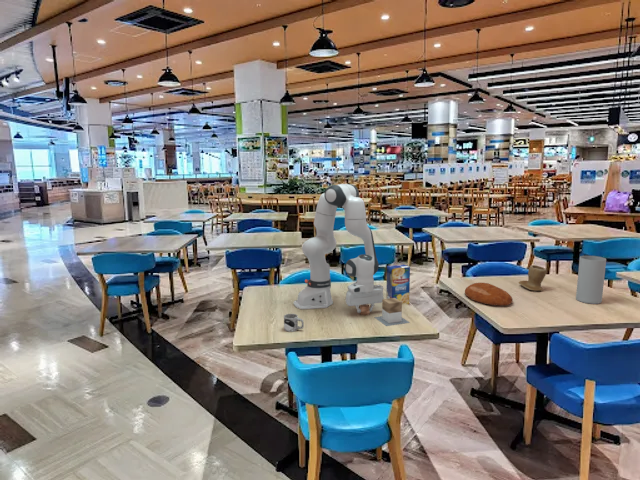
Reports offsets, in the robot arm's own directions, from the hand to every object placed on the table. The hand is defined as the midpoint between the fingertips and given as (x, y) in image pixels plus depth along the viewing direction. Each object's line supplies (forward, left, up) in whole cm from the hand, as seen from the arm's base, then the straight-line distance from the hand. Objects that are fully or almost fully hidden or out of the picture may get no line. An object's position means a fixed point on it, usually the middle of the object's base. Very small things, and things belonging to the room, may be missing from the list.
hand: (364, 311), depth 219 cm
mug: (-39, -4, -3) cm, 40 cm away
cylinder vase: (+130, -23, -3) cm, 132 cm away
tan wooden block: (+9, -13, +4) cm, 16 cm away
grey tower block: (+9, -13, -1) cm, 16 cm away
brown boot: (+120, +7, -3) cm, 120 cm away
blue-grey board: (+9, -13, -2) cm, 16 cm away
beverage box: (+26, +11, -3) cm, 28 cm away
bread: (+79, +1, -3) cm, 79 cm away
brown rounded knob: (0, 0, -2) cm, 2 cm away
